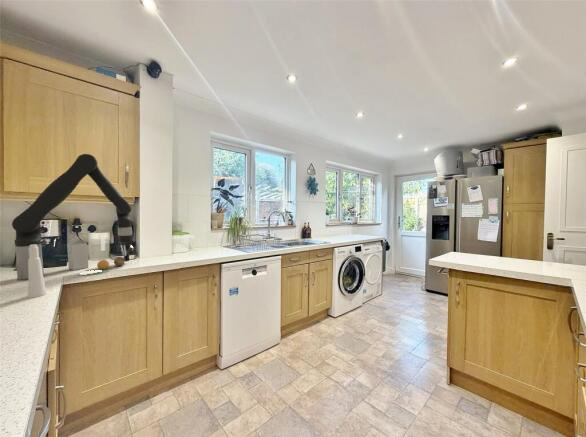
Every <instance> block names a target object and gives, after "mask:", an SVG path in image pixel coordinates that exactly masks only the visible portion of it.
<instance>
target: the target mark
mask: <svg viewBox="0 0 586 437" xmlns="http://www.w3.org/2000/svg"><path fill="white" fill-rule="evenodd" d="M89 270H90V271H91V270H94V271H95V270H101V269H99V268H98V267H96V268H91V269H86V270H84V271H89ZM109 271H111V268H109V267H108V268H107V269H104V270H102V272H97V273H93V274H87V275H82V276H85V277H86V276H87V277H88V276H95V275H101V274H104V273H105V274H106V273H108V272H109Z"/></svg>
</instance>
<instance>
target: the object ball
mask: <svg viewBox="0 0 586 437" xmlns="http://www.w3.org/2000/svg"><path fill="white" fill-rule="evenodd" d="M109 267H110V263H109V261H107V260H105V259H102V260H100V261H98V262H97V265H96V268H99V269H101V270H104V269H107V268H109Z"/></svg>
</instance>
